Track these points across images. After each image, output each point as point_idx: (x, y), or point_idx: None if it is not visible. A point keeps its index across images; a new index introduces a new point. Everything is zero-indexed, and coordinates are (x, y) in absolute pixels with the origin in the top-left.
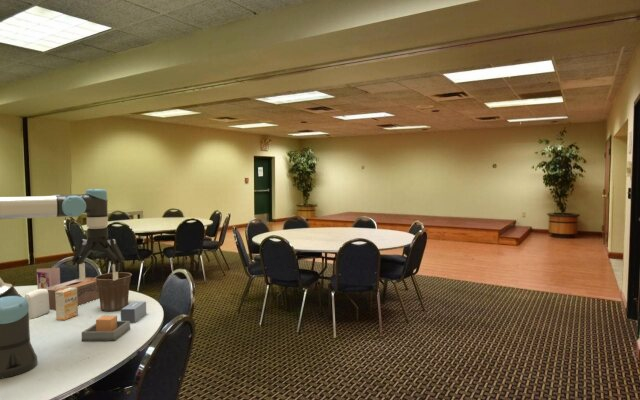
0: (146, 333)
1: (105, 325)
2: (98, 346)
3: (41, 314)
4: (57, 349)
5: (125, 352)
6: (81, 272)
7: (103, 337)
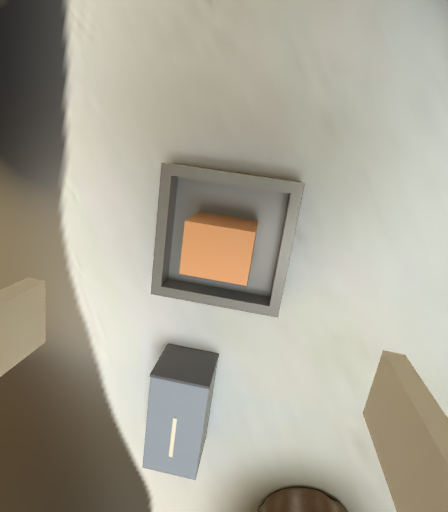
0: (85, 224)
1: (214, 220)
2: (213, 113)
3: None
4: (370, 103)
5: (86, 32)
6: (415, 421)
7: (212, 169)
